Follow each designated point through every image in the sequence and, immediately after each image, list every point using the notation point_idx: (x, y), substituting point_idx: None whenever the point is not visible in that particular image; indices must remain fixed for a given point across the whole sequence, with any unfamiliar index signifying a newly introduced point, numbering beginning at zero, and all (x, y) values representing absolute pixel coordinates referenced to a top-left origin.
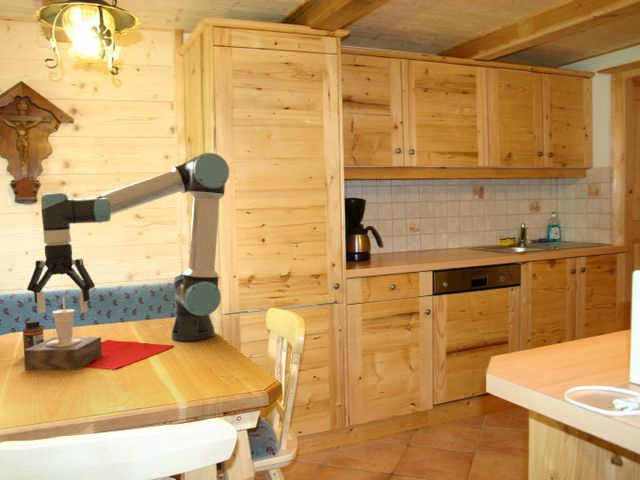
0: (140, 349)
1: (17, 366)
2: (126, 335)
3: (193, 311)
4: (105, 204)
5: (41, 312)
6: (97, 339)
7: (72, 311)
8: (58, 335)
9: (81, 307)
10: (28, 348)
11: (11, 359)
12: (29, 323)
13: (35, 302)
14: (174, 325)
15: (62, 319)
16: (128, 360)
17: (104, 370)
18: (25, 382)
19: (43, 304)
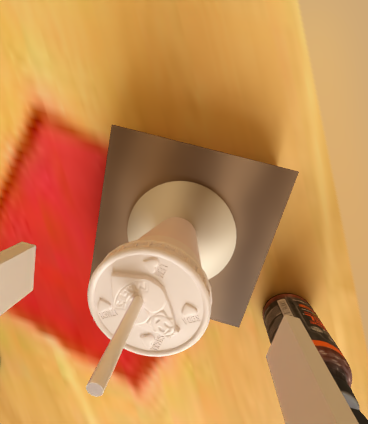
0: (38, 281)
1: (308, 215)
2: (107, 409)
3: None
4: None
5: (282, 328)
6: (93, 262)
7: (90, 281)
8: (188, 228)
9: (2, 259)
10: (287, 196)
11: (339, 291)
12: (339, 387)
13: (361, 414)
14: None
15: (149, 238)
16: (33, 189)
17: (62, 106)
18: (246, 30)
19: (288, 397)
